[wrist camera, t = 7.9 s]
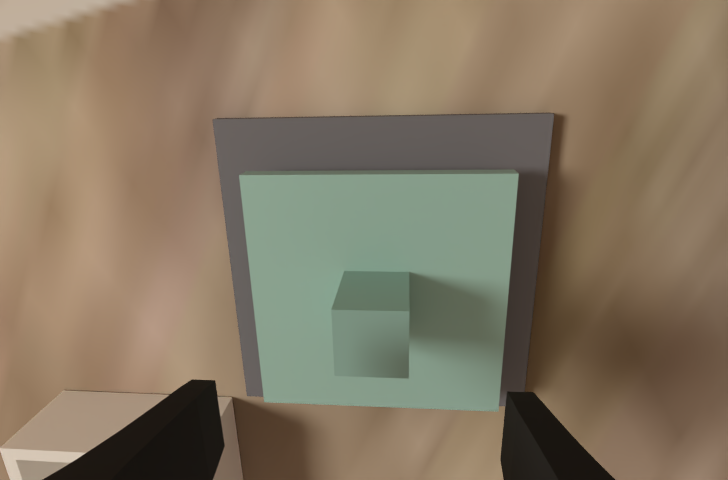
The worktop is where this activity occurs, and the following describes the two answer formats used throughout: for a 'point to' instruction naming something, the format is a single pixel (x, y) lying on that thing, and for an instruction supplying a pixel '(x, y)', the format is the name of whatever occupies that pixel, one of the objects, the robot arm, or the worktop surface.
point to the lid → (381, 285)
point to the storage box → (95, 432)
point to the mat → (394, 152)
